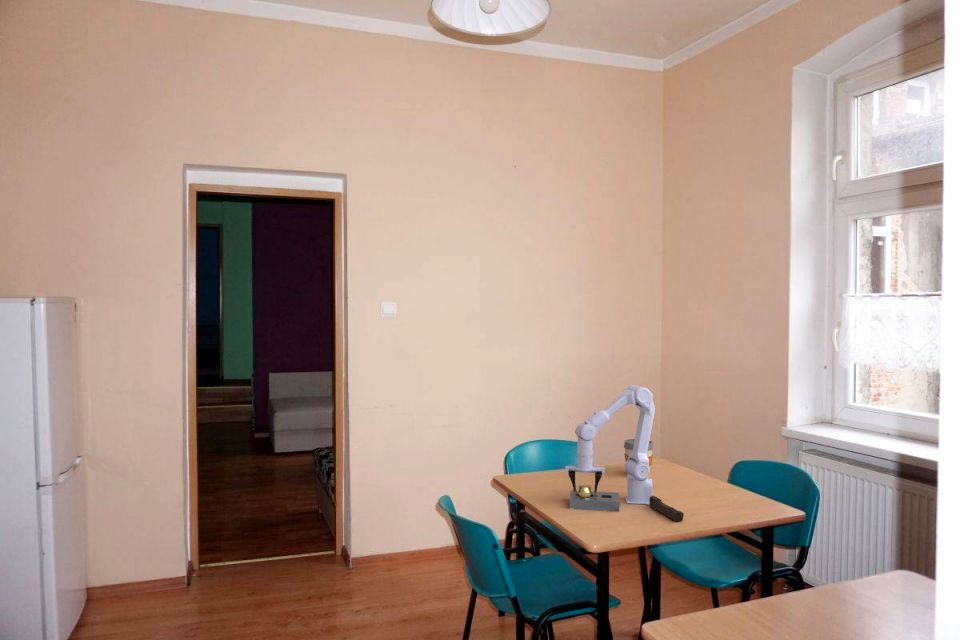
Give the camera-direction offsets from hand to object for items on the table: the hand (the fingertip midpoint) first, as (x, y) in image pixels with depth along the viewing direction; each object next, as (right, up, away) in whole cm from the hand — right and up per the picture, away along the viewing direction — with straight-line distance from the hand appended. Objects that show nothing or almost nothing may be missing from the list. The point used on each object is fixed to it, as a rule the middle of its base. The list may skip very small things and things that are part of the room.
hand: (585, 491), depth 241 cm
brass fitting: (0, -5, 0) cm, 5 cm away
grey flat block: (+3, -5, -1) cm, 6 cm away
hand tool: (+26, -6, -11) cm, 29 cm away
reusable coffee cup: (+30, -4, +42) cm, 52 cm away
